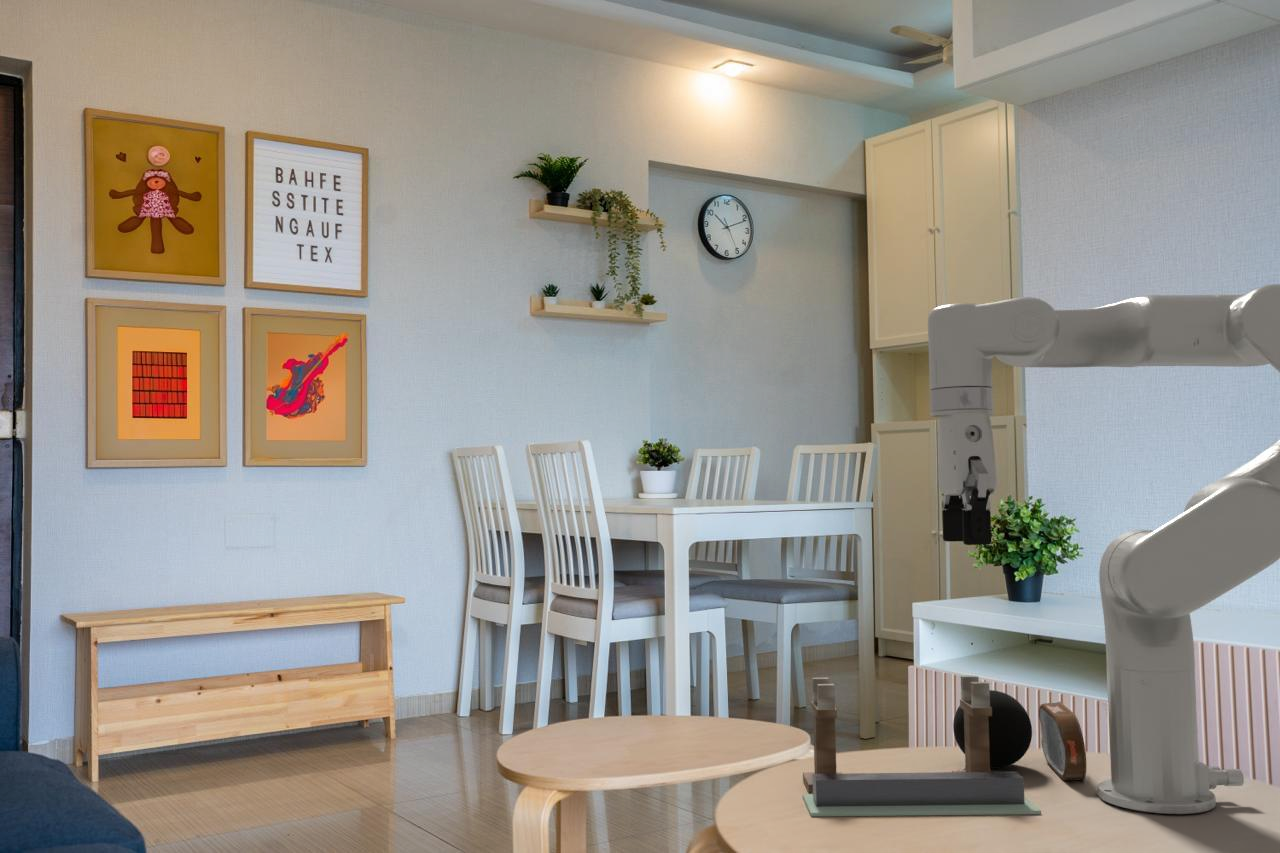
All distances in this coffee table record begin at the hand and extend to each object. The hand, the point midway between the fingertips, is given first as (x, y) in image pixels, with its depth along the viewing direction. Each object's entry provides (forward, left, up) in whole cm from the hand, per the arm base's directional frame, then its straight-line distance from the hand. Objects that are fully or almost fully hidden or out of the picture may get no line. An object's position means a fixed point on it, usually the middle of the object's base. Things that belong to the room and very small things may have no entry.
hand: (966, 542), depth 137 cm
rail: (+8, +5, -30) cm, 31 cm away
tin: (-14, -10, -31) cm, 35 cm away
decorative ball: (-6, -13, -31) cm, 34 cm away
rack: (+8, -4, -30) cm, 32 cm away
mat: (+8, +5, -30) cm, 32 cm away
